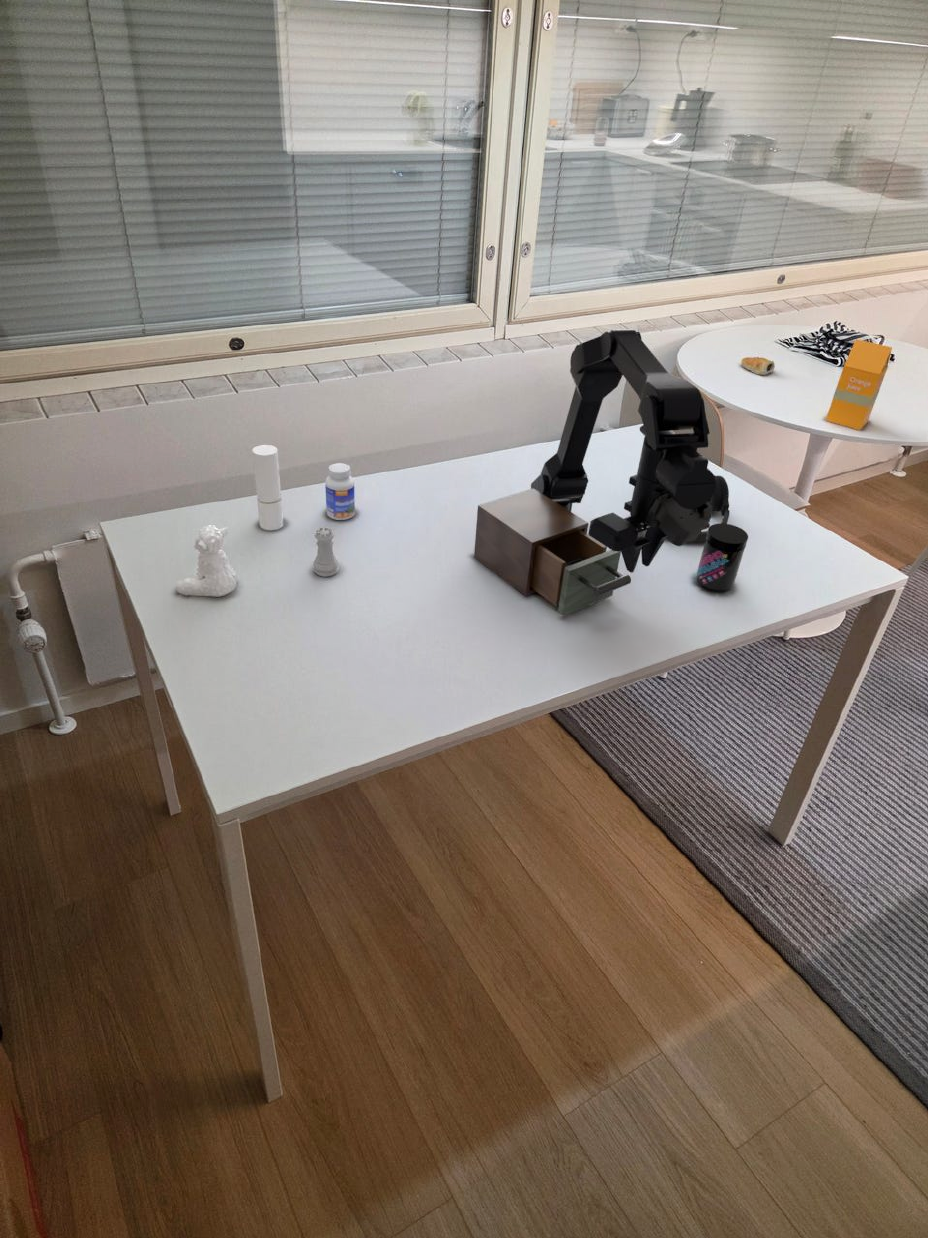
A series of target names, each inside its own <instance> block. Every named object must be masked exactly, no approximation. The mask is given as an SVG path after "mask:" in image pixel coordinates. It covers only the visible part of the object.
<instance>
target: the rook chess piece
mask: <svg viewBox="0 0 928 1238" xmlns="http://www.w3.org/2000/svg"><path fill="white" fill-rule="evenodd" d="M334 537H335V533H334V532H333V530H332V528H331V527H328V526H324V528H323V526H320V527H319V528H317V529H316V532H315V534H314V538H315V539H316V540H317V541H316V546H317V554H316V557H315V559H314V561H313V562H312V563H313V564H312V566H313V567H312V570H313V571H312V572H314V573H315V575H317V576H319V577H324V578H329V577H333V576H335V575H336V574H337V573H338V571H339V570H340V567H339V561H338V559H337V558H336V556H335V554H334V550H333V545H334V541H333V539H334Z"/></svg>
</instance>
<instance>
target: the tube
mask: <svg viewBox="0 0 928 1238" xmlns="http://www.w3.org/2000/svg"><path fill="white" fill-rule="evenodd" d="M251 451H252V459H253V470H254V471H253V472H254V479H255V480H254V481H255V491H256V501H257V511H258V522H259V527H260V529H263V530H265V531H277V530H280V529H281V528H283V526H284V517H283V503H282V489H281V478H280V465H279V463H280V462H279V451H278V448H277V446H274V445H271V444H261V445H256V446H254V447H253V448H252V450H251Z"/></svg>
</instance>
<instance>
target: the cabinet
mask: <svg viewBox="0 0 928 1238" xmlns="http://www.w3.org/2000/svg"><path fill="white" fill-rule="evenodd" d="M589 525H590V522H588V521H586V520H585V519H583V518H582V517H580V516H578V515H577V514H575V513H574V512H573V511H571V512H570V511H569V510H567V509H566V508H564V507H562V506H561V505H559V504H558V503H556V502H554V501H553V500H551V499H550V498H548V497H546V496H545V495H543V494H542V493H540V492H539V491H537V490H535V489H534V488H532V489H531V488H530V489H526V490H523V491H519V492H517V493H513V494H510V495H507V496H503V497H500V498H497V499H494V500H491V501H488V502H483V503H480V504H478V505H477V514H476V524H475V528H476V529H475V536H474V537H475V540H474V550H473V558H475V559H476V560H477V561H478V562H480V563H481V564H482V565H484V567H486V568H487V569H489V570H490V571H492V572H493V573H494V574H495V575H497V576H498V577H499V578H501V579H502V581H505V582H506V583H507V584H508V585H510V586H511V587H513V589H515V590H516V591H518V592H519V593H520V594H522V595H523V596H524V597H528V596H530V595H533V594H535V593H538V592H537V591H535V590H534V589H533V588H531V587H530V583H531V576H532V568H533V560H534V552H535V546H536V545H538V544H541V543H544V542H547V541H550V540H553V539H555V538H558V537H561V536H564V535H567V534H570V533H572V532H575V531H578V530H582V531H583V532H585V533H586V534H588V531H589Z"/></svg>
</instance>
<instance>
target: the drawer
mask: <svg viewBox="0 0 928 1238" xmlns="http://www.w3.org/2000/svg"><path fill="white" fill-rule="evenodd" d="M607 549H608V547H607V546H605V545H603V544H602V543H600V542H599V541H597V540H596V539H594V538H592V537H591V536H589V533H587V534H586V533H585V532H583V531H582V530H578V531H575V532H572V533H570V534H567V535H564V536H561V537H558V538H555V539H553V540H550V541H547V542H544V543H541V544H538V545H536V546H535V552H534V560H533V568H532V576H531V583H530V587H531V588H533V589H534V590H535V591H537V592H536V593H538V594H539V595H541V596H542V597H543V598H545V600H547V601H548V602H550V603H551V604H552V605H553V606H556V607H557V606H558V608H557V613H558V614H559V615H560V616H561V617H564V616H566V615H569V614H572V613H575V612H576V611H579V610H581V609H584V608H585V607H588V606H590V605H593V604H595V603H599V602H600V601H602V600H605V599H607V598H609V597H612V596H613V594H614V591H615V590H617V589H620V588H623V587H625V586H627V585H630V584H632V583H631V582H632V578H631V576H630V575H629V574H627V573H625V574H622V573H620V572H619V571H618V569H619V563H620V558H621V555H622V553H621V551H620V552H618V551H613V550H611V549H610V550H607ZM579 558H580V559H582V560H583V561H581V562H578V563H576V564H573V565H570V566H568V567H565V564H566V563H568V562H571V561H574V560H577V559H579Z"/></svg>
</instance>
